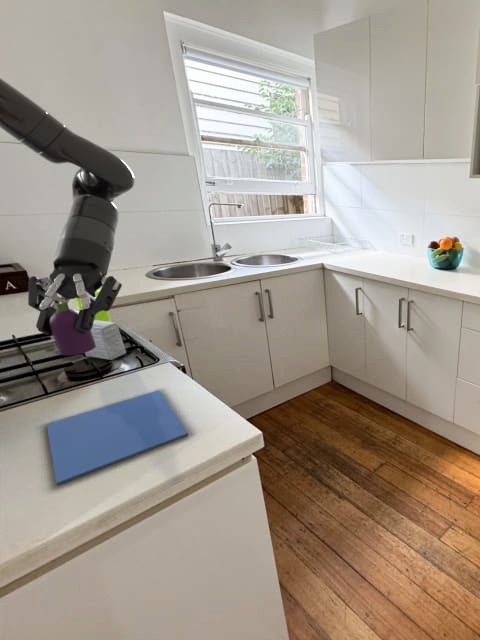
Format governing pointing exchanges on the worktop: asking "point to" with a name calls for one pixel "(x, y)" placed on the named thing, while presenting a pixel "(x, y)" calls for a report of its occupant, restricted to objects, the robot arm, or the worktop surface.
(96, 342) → the medicine box
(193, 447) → the worktop surface
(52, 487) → the worktop surface
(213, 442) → the worktop surface
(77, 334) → the eggplant
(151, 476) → the worktop surface
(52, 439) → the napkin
